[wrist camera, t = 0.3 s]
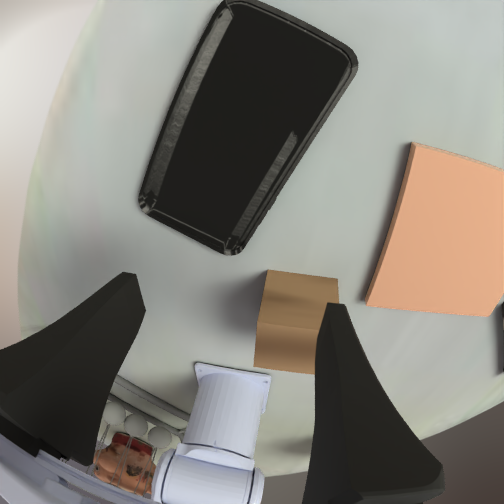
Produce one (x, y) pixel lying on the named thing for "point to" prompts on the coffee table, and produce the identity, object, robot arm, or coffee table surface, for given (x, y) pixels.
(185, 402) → the coffee table surface
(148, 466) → the decorative planter
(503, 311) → the vhs tape
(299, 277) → the walnut cube
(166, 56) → the coffee table surface
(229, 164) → the phone
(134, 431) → the newton's cradle
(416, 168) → the terracotta tile
